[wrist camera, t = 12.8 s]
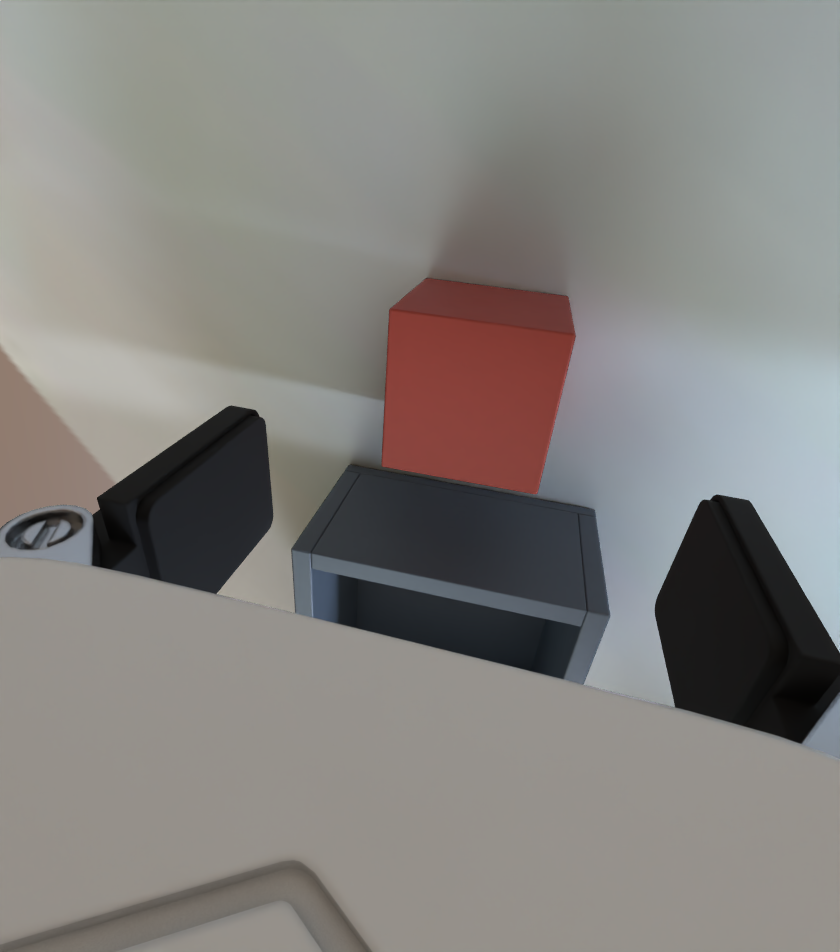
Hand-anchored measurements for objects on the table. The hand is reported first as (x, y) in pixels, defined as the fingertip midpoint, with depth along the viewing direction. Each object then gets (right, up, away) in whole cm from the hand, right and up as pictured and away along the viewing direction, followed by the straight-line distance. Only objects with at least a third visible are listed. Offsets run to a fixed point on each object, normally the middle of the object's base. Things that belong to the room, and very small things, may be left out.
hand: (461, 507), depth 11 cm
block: (+2, +5, +9) cm, 11 cm away
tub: (+1, -5, +16) cm, 16 cm away
